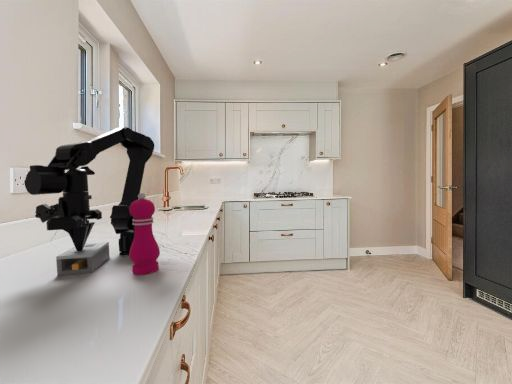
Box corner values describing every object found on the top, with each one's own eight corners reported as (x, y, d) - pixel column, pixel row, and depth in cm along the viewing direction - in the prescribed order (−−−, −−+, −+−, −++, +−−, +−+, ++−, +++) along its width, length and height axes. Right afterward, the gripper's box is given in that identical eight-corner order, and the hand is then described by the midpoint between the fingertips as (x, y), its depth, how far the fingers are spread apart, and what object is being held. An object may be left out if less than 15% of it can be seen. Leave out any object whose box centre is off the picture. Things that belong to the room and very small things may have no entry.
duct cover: (108, 244, 84) (108, 241, 84) (91, 256, 70) (91, 253, 70) (79, 246, 82) (79, 243, 82) (56, 259, 69) (56, 255, 69)
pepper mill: (166, 267, 73) (162, 191, 72) (147, 276, 66) (142, 193, 65) (144, 265, 75) (140, 192, 74) (123, 274, 68) (118, 194, 67)
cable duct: (109, 257, 84) (108, 244, 84) (92, 272, 71) (91, 256, 70) (80, 259, 83) (79, 246, 83) (57, 275, 69) (56, 259, 69)
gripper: (59, 192, 80) (62, 245, 81) (17, 195, 62) (23, 264, 62) (100, 190, 82) (104, 242, 83) (73, 193, 64) (77, 259, 65)
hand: (79, 250), depth 73 cm, fingers closed
